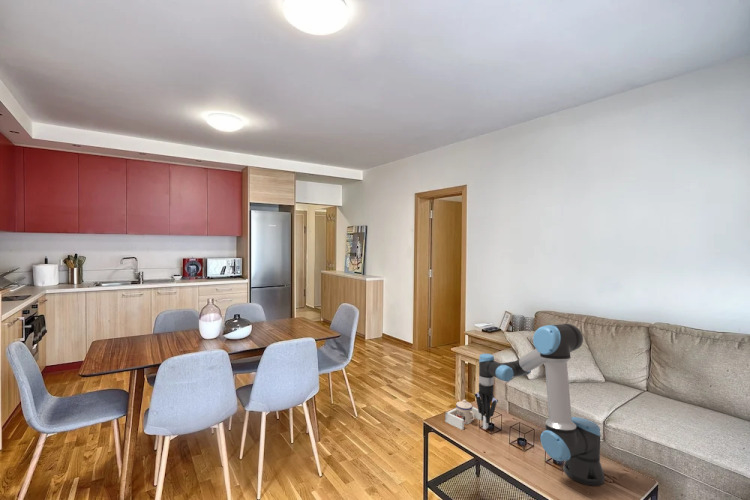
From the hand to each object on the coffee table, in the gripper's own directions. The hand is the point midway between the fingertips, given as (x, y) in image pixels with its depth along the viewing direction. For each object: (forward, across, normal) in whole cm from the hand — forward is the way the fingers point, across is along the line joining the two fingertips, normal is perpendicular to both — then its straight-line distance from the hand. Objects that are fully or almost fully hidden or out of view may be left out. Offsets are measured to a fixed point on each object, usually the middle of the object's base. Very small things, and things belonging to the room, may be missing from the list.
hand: (485, 427), depth 190 cm
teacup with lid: (+2, +12, 0) cm, 13 cm away
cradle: (+1, +14, 0) cm, 14 cm away
